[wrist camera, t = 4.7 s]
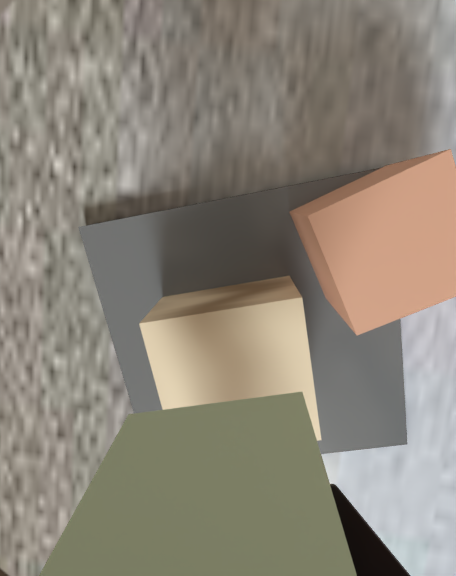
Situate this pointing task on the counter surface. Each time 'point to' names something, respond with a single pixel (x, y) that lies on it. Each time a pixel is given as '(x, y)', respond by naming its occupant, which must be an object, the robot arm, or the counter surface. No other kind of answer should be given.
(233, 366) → the maple brick
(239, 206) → the slate tile
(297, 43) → the counter surface
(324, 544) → the pale green cube
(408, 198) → the salmon pink cube
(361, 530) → the robot arm
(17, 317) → the counter surface
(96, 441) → the counter surface
